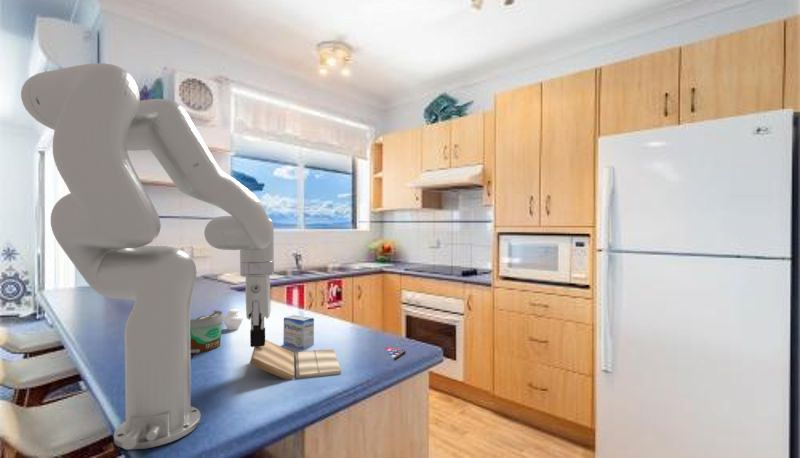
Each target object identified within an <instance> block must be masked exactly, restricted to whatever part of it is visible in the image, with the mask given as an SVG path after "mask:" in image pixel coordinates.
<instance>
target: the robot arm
mask: <svg viewBox="0 0 800 458" xmlns="http://www.w3.org/2000/svg"><path fill="white" fill-rule="evenodd" d="M140 95H141V94H140V91H139V87H138V85H137V83H136V79H134V78H133V76H132V75H131V74H130V73H129V72H128V71H127V70H126V69H124V68H122V67H120V66H118V65H115V64H110V63H103V62H102V63H100V62H96V63H87V64H80V65H74V66H73V65H72V66H69V67H64V68H59V69H53V70H52V69H51V70H48V71H42V72H38V73H35V74H34V75H32V76H30V77H29V78H27V80H25V81H24V83H23V85H22V88H21V91H20V98H21V102H22V105H23V107H24V108H25V110H26V111H27V112H28V114H29V115H30V116H31V117H32V118H33V119H34V120H36V121H37V122H38V123H40V124H42V125H43V126H45V127H47V128H49V129H51V130H54V133H53V137H52V156H53V161H54V163H55V166H56V169H57V171H58V172H59V175H60V177H61V178H62V180H63V182H64V183H65V185H66V187H67V189H68V191H69V192H70V193H67V194H66V195H64V196H62V197H61V198H60V199H59V200H58V201H56V202H55V204H54V206H53V208H52V210H51V213H50V226H51V231H52V233H53V236H54V238H55V240H56V242H57V244H59V246H60V247H61V248H62V250H63V252H64V253H65V254H66V256H67V257H68V258H69V260H70V261H71V262H72V264H73V265H74V267H75V268H76V270H77V271H78V273H79V274H80V275H81V276H82V278H83V279H84V281H86V283H87V284H88V285H89V287H90V288H91V289H92V290H93V291H95V292H96V293H98V294H99V295H100V296H103V297H104V298H109V299H114V300H121V301H122V300H126V301H134V304H133V305H132V306H133V307H132V309H131V311H130V313H129V316H128V318H127V320H126V323H125V328H124V374H125V376H124V391H125V393H124V394H125V395H124V396H125V401H124V402H125V406H124V407H125V408H124V409H125V421H123V422H122V423H121V424H120V425H119V426H118V427H117V428H116V429H115V430H114V433H113V442H114V444H115V445H116V446H117V447H119V448H122V449H124V450H126V451H127V450H129V451H130V450H145V449H152V448H155V447H160V446H163V445H167V444H169V443H172V442H175V441H177V440H179V439H181V438H183V437H185V436H187V435H189V434H190V433H192V432H193V431H194V430H195V429H196V428H197V427H198V426H199V425H200V421H201V417H202V415H201V411H200V410H199V409H198V408H196V407H195V406H192V405H191V403H192V402H191V400H192V398H191V397H192V396H191V394H192V391H191V390H192V388H191V387H192V386H191V385H192V384H191V382H192V381H191V374H192V373H191V367H192V366H191V365H192V364H191V355H190V320H191V312H192V311H191V310H192V302H193V301H192V300H193V295H194V290H195V285H196V282H197V267H196V263H195V261H194V259H193V258H192V257H191V256H190V255H189V254H188V253H187V252H185V251H184V250H182V249H180V248H178V247H177V248H176V247H173V246H167V245H149V244H151V243H153V241H155V240H156V239H157V237H159V235H160V232H161V225H162V224H161V220H160V216H159V214H158V212H157V210H156V207H155V205H154V204H153V202H152V200H151V198H150V196H149V194H148V193H147V191H146V189H145V187H144V185H143V183H142V181H141V180H140V178H139V175H138V174H137V172H136V171H135V168H134V166H133V164H132V161H131V158H130V157H129V154H128V151H133V152H135V151H137V152H138V151H147V150H148V151H150V152H151V153H152V155H154V157H155V158H156V160H157V161H158V163H159V165H160V166H161V167H162V169H163V170H164V171H165V172H166V174H167V175H168V176H169V178H170V179H171V181H172V182H173V184H174V185H175V187H176V188H177V189H178V191H179V192H182V193H183V194H185V195H186V196H190V197H192V198H193V199H196V200H199V201H201V202H204V203H207V204H209V205H212V206H216V207H217V208H220V209H221V210H223V211H225V212H226V213H228V214H229V215H222V216H221V215H220V216H217V217H215V218H212V219H211V220H210V221H208V223H207V224H206V225H205V227H204V231H203V232H204V233H203V234H204V235H203V236H204V238H205V241H206V243H208V245H210V246H211V247H212V248H215V249H217V250H221V251H224V250H225V251H239V261H240V262H239V269H240V271H239V273H240V274H239V275H240V277H243V278H245V312H246V319H247V320H249V321H250V331H249V332H250V333H249V334H250V337H249V338H250V342H249V345H250V347H251V348H254V347H258V346H264V345H265V340H266V327H265V319H269V318H270V315H271V312H272V311H271V308H272V307H271V276H274V274H275V273H274V272H275V270H274V269H275V267H274V266H275V257H274V256H275V253H274V251H275V249H274V248H275V247H274V245H275V244H274V243H275V242H274V239H275V237H274V235H275V234H274V233H275V232H274V229H275V228H274V222H273V220H272V219H271V218H270V217H269V214H268V213H267V211H266V210H265V208H264V205H263V204H262V202H261V201H260V200H259V198H258V197H257V195H255V194H254V193H253V192H252V191H251V190H250V189H248V188H247V187H246V186H245V185H243V184H242V183H241V182H239V181H238V180H237V179H235V178H234V177H233V176H231V175H230V174H228V173H226V172H224V171H223V170H222V168H221V167H220V165H219V164H218V163H217V161H216V159H215V158H214V156H213V154H212V152H211V151H210V150H209V148H208V146H207V144H206V142H205V141H204V139H203V137H202V136H201V134H200V132H199V130H198V129H197V127H196V126H195V124H194V122H193V120H192V119H191V116H190V115H189V114H188V112H187V111H186V109H185V108H184V107H183V106H182V105H181V104H179V103H178V102H176V101H174V100H170V99H167V98H166V99H165V98H151V99H143V100H141V99H140V97H141V96H140Z"/></svg>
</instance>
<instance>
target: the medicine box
mask: <svg viewBox="0 0 800 458" xmlns="http://www.w3.org/2000/svg"><path fill="white" fill-rule="evenodd" d="M282 343H283V346H288V347H291V348H297V349H302V350H303V349H304V350H305V349H307V348H309V347H312V346H314V345H315V318H313V317H307V316H303V315H295V314H293V315H289V316H286V317H283V342H282Z"/></svg>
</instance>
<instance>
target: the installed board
mask: <svg viewBox="0 0 800 458" xmlns="http://www.w3.org/2000/svg"><path fill="white" fill-rule="evenodd" d="M294 357H295V375H296V376H295V378H296V380H297V379H306V378H314V377H323V376H324V377H325V376H332V375H341V374H342V370H341V367H340V364H339V360H338V358H337V356H336V353H335V349H334V348H326V349H316V350H315V349H313V350H305V351H295V352H294Z"/></svg>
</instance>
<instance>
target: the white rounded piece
mask: <svg viewBox="0 0 800 458" xmlns="http://www.w3.org/2000/svg"><path fill="white" fill-rule="evenodd" d="M224 319H225V320H224V321H223V322H224V325H225V327H226V329H227V330H228V331H237V330H238V329H240V326H241V325H242V322H243V320H244V317H243V315H242V314H241V313H240V311H239V309H236V308H232V309H229V310H228V311H227V313H226V315H224Z"/></svg>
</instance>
